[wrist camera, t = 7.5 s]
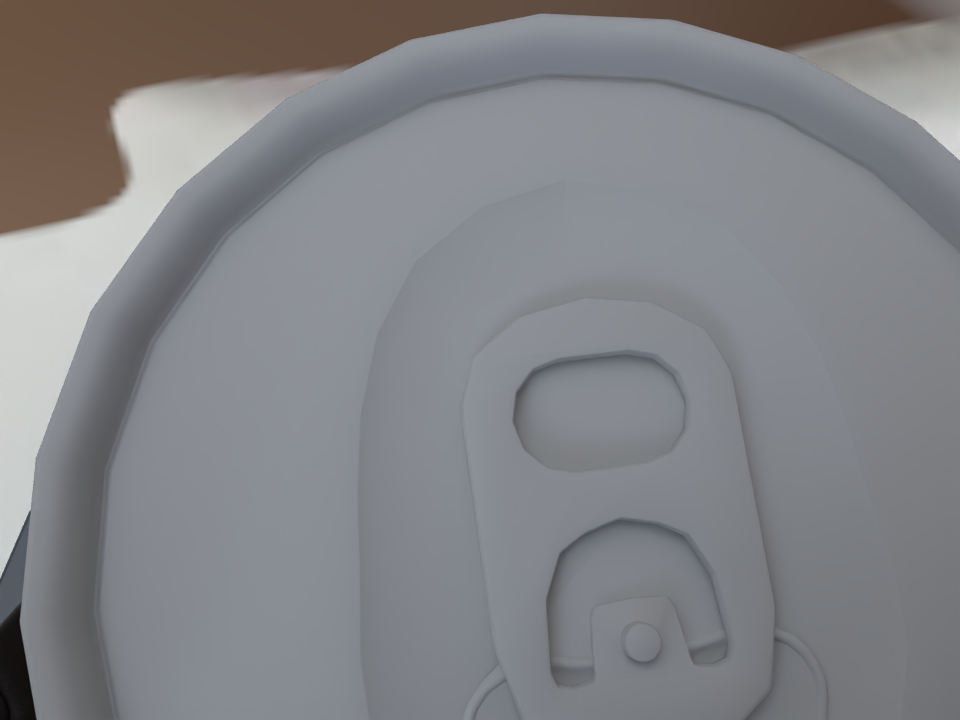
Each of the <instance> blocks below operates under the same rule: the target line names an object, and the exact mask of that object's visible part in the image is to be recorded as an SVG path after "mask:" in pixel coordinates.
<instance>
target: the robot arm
mask: <svg viewBox="0 0 960 720" xmlns="http://www.w3.org/2000/svg"><path fill="white" fill-rule="evenodd" d="M21 604H22V601H21V602H20V603H19V604H18V605H17V606H16V607H15V609H14V610H13V611H12V612H11V613H10V614H9V615H8V616H7V617H6V618H5V619H4V621H3V622H2V623H1V624H0V720H37V719H36V713H35V707H34V701H33V696H32V690H31V684H30V679H29V673H28V667H27V661H26V656H25V650H24V644H23V638H22V633H21V627H20V614H21Z"/></svg>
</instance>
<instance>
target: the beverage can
mask: <svg viewBox="0 0 960 720" xmlns="http://www.w3.org/2000/svg"><path fill="white" fill-rule="evenodd" d="M20 627H21V633H22V638H23V644H24V650H25V656H26V661H27V667H28V673H29V679H30V684H31V690H32V696H33V701H34V707H35V713H36V719H37V720H960V161H959V160H958V159H957V158H956V157H955V156H954V155H953V154H952V153H950V152H949V151H948V150H947V149H946V148H945V147H944V146H943V145H942V144H940V143H939V142H938V141H937V140H936V139H935V138H934V137H933V136H932V135H930V134H929V133H928V132H927V131H926V130H925V129H924V128H923V127H922V126H921V125H919V124H918V123H917V122H916V121H914V120H912V119H911V118H909V117H907V116H905V115H903V114H902V113H900V112H898V111H896V110H895V109H893V108H891V107H889V106H887V105H886V104H884V103H882V102H880V101H879V100H877V99H875V98H873V97H871V96H870V95H868V94H866V93H864V92H863V91H861V90H859V89H857V88H855V87H854V86H852V85H850V84H848V83H847V82H845V81H843V80H841V79H839V78H838V77H836V76H834V75H832V74H831V73H829V72H827V71H825V70H823V69H822V68H820V67H818V66H816V65H815V64H813V63H811V62H809V61H807V60H806V59H804V58H802V57H800V56H797V55H794V54H790V53H787V52H783V51H780V50H776V49H773V48H769V47H766V46H762V45H759V44H755V43H751V42H748V41H745V40H741V39H738V38H734V37H731V36H727V35H724V34H720V33H717V32H713V31H710V30H706V29H703V28H699V27H696V26H692V25H689V24H685V23H682V22H679V21H675V20H664V19H663V20H661V19H643V18H622V17H601V16H579V15H559V14H537V15H532V16H527V17H522V18H517V19H512V20H507V21H502V22H497V23H492V24H487V25H482V26H478V27H472V28H468V29H462V30H457V31H453V32H448V33H443V34H438V35H433V36H428V37H423V38H418V39H413V40H409V41H407V42H405V43H403V44H401V45H399V46H397V47H394V48H392V49H390V50H388V51H386V52H384V53H382V54H380V55H378V56H375V57H373V58H371V59H369V60H367V61H365V62H363V63H361V64H359V65H356V66H354V67H352V68H350V69H348V70H346V71H344V72H342V73H340V74H337V75H335V76H333V77H331V78H329V79H327V80H325V81H323V82H320V83H318V84H316V85H314V86H312V87H310V88H308V89H306V90H304V91H301V92H299V93H297V94H295V95H293V96H291V97H289V98H287V99H285V100H284V101H283V102H282V103H281V104H280V105H278V106H277V107H276V108H275V109H274V110H272V111H271V112H270V113H269V114H268V115H266V116H265V117H264V118H263V119H262V120H260V121H259V122H258V123H257V124H256V125H255V126H253V127H252V128H251V129H250V130H249V131H247V132H246V133H245V134H244V135H243V136H241V137H240V138H239V139H238V140H237V141H235V142H234V143H233V144H232V145H231V146H230V147H228V148H227V149H226V150H225V151H224V152H222V153H221V154H220V155H219V156H218V157H216V158H215V159H214V160H213V161H212V162H211V163H209V164H208V165H207V166H206V167H205V168H203V169H202V170H201V171H200V172H199V173H197V174H196V175H195V176H194V177H193V178H191V179H190V180H189V181H188V182H187V183H186V184H184V185H183V186H182V187H181V188H180V189H178V190H177V191H176V193H175V194H174V196H173V197H172V198H171V200H170V201H169V203H168V204H167V205H166V207H165V208H164V210H163V211H162V212H161V214H160V215H159V217H158V218H157V219H156V221H155V222H154V224H153V225H152V226H151V228H150V229H149V231H148V232H147V233H146V235H145V236H144V238H143V239H142V240H141V242H140V243H139V245H138V246H137V247H136V249H135V250H134V252H133V253H132V254H131V256H130V257H129V259H128V260H127V261H126V263H125V264H124V266H123V267H122V268H121V270H120V271H119V273H118V274H117V275H116V277H115V278H114V280H113V281H112V282H111V284H110V285H109V287H108V288H107V289H106V291H105V292H104V294H103V295H102V296H101V298H100V299H99V301H98V302H97V303H96V305H95V306H94V308H93V309H92V310H91V312H90V315H89V317H88V320H87V323H86V325H85V328H84V331H83V334H82V336H81V339H80V342H79V344H78V347H77V350H76V352H75V355H74V358H73V360H72V363H71V366H70V368H69V371H68V374H67V376H66V379H65V382H64V385H63V387H62V390H61V393H60V395H59V398H58V401H57V403H56V406H55V409H54V411H53V414H52V417H51V419H50V422H49V425H48V427H47V430H46V433H45V436H44V438H43V441H42V444H41V446H40V449H39V452H38V454H37V457H36V463H35V473H34V483H33V493H32V503H31V514H30V524H29V534H28V544H27V554H26V564H25V574H24V584H23V594H22V604H21V614H20Z"/></svg>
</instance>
